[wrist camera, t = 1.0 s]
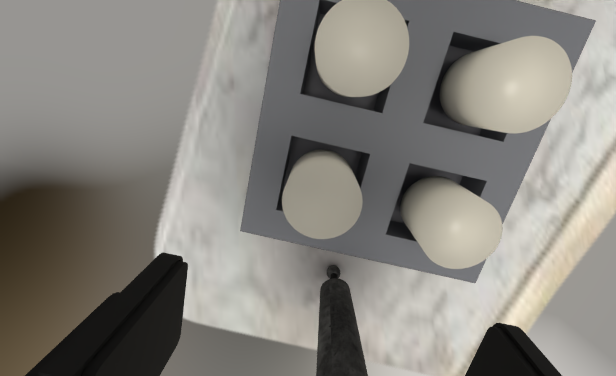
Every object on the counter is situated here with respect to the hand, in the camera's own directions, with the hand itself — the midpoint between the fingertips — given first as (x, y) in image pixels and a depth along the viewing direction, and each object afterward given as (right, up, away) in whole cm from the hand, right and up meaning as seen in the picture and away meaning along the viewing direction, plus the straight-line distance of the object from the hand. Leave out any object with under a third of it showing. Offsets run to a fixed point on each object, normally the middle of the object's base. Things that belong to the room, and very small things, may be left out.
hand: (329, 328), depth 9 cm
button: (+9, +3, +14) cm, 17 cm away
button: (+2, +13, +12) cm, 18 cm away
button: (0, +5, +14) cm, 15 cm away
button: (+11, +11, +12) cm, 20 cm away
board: (+6, +9, +16) cm, 19 cm away
